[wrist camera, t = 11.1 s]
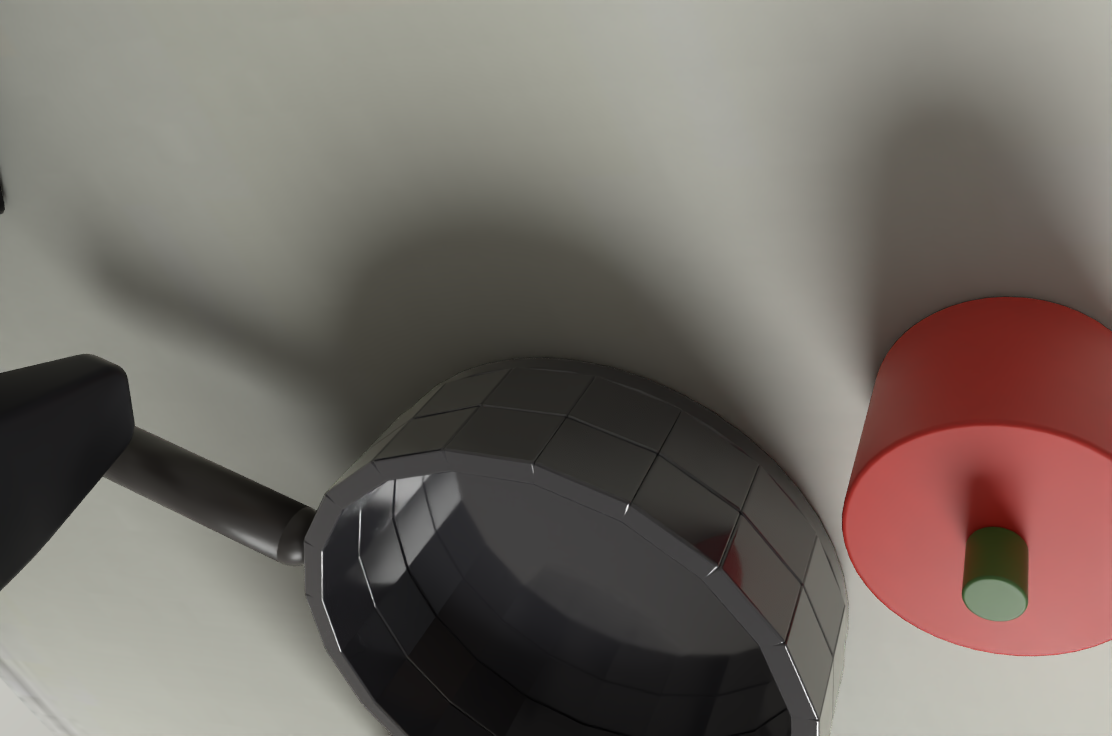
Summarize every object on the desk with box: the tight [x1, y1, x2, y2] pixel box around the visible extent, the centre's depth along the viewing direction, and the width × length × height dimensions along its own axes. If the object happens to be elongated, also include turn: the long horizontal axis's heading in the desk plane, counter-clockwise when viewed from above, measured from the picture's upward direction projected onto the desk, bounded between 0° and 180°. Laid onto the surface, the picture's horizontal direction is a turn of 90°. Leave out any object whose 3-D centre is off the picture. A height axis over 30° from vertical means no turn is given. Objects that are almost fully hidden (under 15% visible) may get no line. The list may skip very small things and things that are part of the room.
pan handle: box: [103, 426, 317, 566], centre depth 25 cm, size 8×2×2 cm, turn 81°
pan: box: [304, 357, 848, 736], centre depth 23 cm, size 13×13×4 cm
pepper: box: [842, 297, 1112, 656], centre depth 16 cm, size 5×5×5 cm
